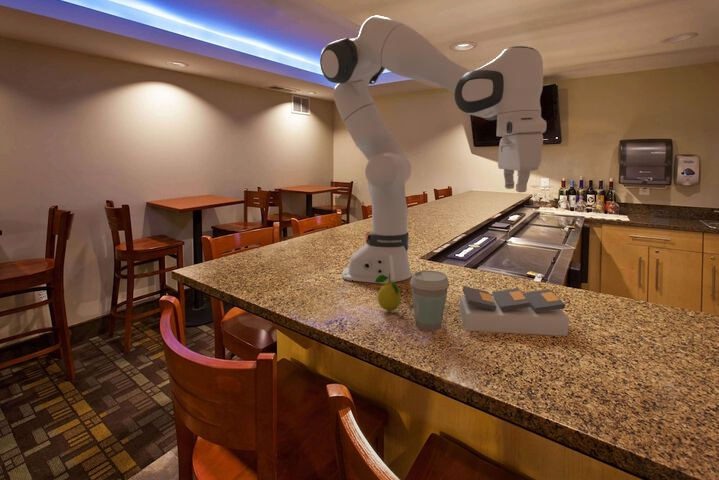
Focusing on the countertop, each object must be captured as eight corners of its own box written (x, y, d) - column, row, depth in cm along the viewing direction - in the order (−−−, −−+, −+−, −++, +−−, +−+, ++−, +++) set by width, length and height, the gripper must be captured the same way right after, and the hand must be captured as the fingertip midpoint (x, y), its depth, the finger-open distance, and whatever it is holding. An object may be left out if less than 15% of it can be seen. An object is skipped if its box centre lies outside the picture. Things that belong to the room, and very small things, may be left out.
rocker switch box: (465, 330, 81) (466, 313, 80) (459, 310, 91) (460, 295, 91) (567, 335, 78) (569, 318, 77) (548, 314, 88) (550, 298, 88)
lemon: (375, 307, 94) (374, 269, 92) (397, 306, 95) (398, 268, 92) (378, 318, 88) (378, 278, 85) (402, 316, 88) (403, 277, 86)
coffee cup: (419, 314, 89) (420, 267, 87) (453, 323, 84) (455, 273, 82) (402, 328, 82) (403, 277, 80) (438, 338, 78) (440, 284, 75)
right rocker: (535, 312, 79) (534, 307, 79) (523, 296, 88) (522, 292, 88) (565, 308, 78) (564, 303, 78) (549, 292, 87) (549, 288, 87)
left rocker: (467, 304, 81) (469, 299, 81) (462, 289, 90) (463, 285, 89) (495, 310, 80) (496, 306, 80) (487, 295, 89) (488, 291, 89)
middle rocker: (501, 311, 80) (501, 306, 80) (492, 295, 89) (492, 291, 89) (530, 306, 79) (529, 302, 79) (518, 291, 88) (518, 287, 88)
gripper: (492, 131, 91) (490, 187, 94) (515, 123, 71) (512, 194, 74) (519, 130, 90) (516, 186, 93) (550, 121, 71) (545, 193, 73)
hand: (514, 190), depth 84 cm, fingers open, 8 cm apart
